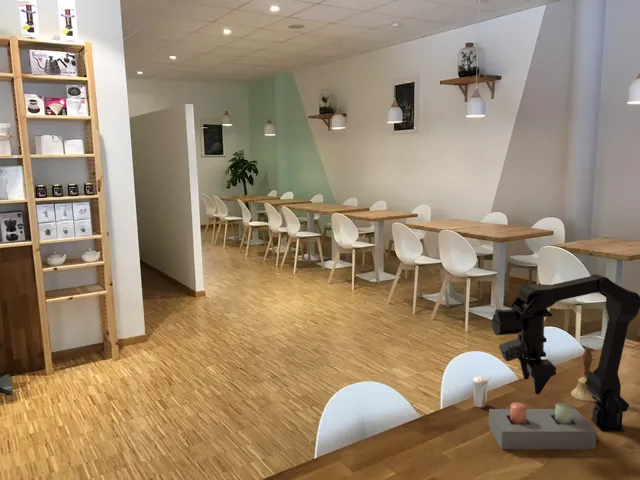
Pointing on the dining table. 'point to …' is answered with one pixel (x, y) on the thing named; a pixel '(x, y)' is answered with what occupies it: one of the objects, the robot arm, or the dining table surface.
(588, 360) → the hand bell
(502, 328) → the robot arm
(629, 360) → the dining table surface
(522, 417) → the terracotta plug
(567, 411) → the sage plug
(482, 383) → the milkshake
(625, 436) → the dining table surface
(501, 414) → the console
